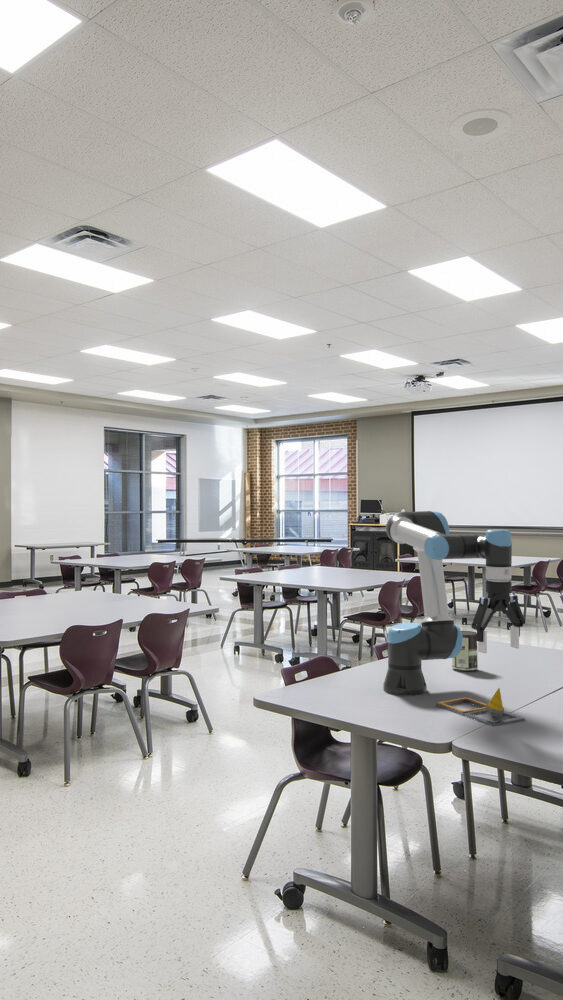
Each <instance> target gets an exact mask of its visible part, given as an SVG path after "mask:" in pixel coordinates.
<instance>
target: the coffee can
mask: <svg viewBox="0 0 563 1000" xmlns="http://www.w3.org/2000/svg"><path fill="white" fill-rule="evenodd" d="M460 631H461V632H462V636H463V644H462V648H461V651H460V653H459V654H458V655H457V656H456V657H454V658H451V668H452V669H454V670H459V671H476V670H478V669H479V667H478V665H479V664H478V662H479V661H478V660H479V659H478V641H477V631H473V630H472V631H471V630H460Z"/></svg>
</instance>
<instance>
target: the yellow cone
mask: <svg viewBox="0 0 563 1000" xmlns="http://www.w3.org/2000/svg"><path fill="white" fill-rule="evenodd" d="M502 700H503V699H502V693H501V688H500V687H498V688H497V690H496V691H495V693H494V695H493V696H492V697H491V699H490V700H489V702H488V703H485V704H486V709H487V712H488V713H489V715H491V717H492V718H493V719H498V718H502V714H503V713H504V711H505V708H504V707H503V701H502Z"/></svg>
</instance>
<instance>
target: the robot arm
mask: <svg viewBox="0 0 563 1000" xmlns="http://www.w3.org/2000/svg"><path fill="white" fill-rule="evenodd" d="M385 532H386V535H387V537H388V538H389V539H390V540H391V541H393V542H395V543H397V544H400V545H404V544H406V545H408V546H411V547H412V549H413V550H414V551H415V552H416V553H417V559H418V567H419V576H420V586H421V595H422V602H423V603H422V605H423V613H424V618H423V619H422V620H421V622H420V623H421V624H419V623H418V622H404V623H403V622H402V623H398V624H395V625H392V626H391V627H389V629H388V631H387V666H388V667H387V671H386V675H385V678H384V681H383V687H382V688H383V689H382V690H383V691H384V692H385V693H388V694H389V695H395V696H403V697H404V696H407V697H409V696H413V697H414V696H419V695H424V694H425V693H427V692H428V691H427V690H428V688H427V687H428V686H427V683H426V680H425V677H424V673H423V671H422V661H433V660H448V659H452V658H454V657H456V656H457V655H458V654H459V653H460V651H461V648H462V644H463V636H462V632H461V631H462V630H461V627H460V626H458V625H456V624H455V621H454V619H453V618H452V617H451V616H450V613H449V606H448V605H449V604H448V598H447V590H446V580H445V573H444V565H443V560H456V559H458V560H464V559H465V560H469V559H471V560H472V559H483V560H485V579H486V581H485V592H486V593H487V597H484V596H483V597H482V596H480V597H479V600H478V606H477V609H476V612H475V615H474V618H473V621H472V623H471V627H470V628H471V629H474V630H475V631H476V633H477V653H482V654H488V649H487V648H488V645H487V643H488V642H487V640H488V637H487V636H488V634H487V633H488V631H486V630H485V629H486V628H487V627H488V625H489V623H490V621H491V619H492V618H493V616H494V615H495V614H497V612H504V614H505V616H506V617H507V618H508V620H509V622H510V623H511V625H510V648H514V649H518V650H519V649H520V636H521V628H523V627H524V625H525V624H526V619H525V617H524V614H523V612H522V609H521V606H520V603H519V597H518V596H519V595H517V594H512V591H513V586H512V585H513V584H512V581H511V580H512V562H513V561H512V557H513V556H512V551H513V550H512V549H513V548H512V546H513V541H512V533H511V531H510V530H509V529H487V530H486V531H485V534H481V533H473V534H456V535H455V534H453V535H452V534H450V525H449V522H448V520H447V518H446V516H445V515H444V514H443V513H442V512H439V511H432V510H428V511H427V510H426V511H425V510H424V511H400V512H397V513H395V514H393V515H391V516H390V518H389V519H388V520H387V522H386V524H385ZM449 534H450V535H449Z"/></svg>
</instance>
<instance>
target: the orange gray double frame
mask: <svg viewBox="0 0 563 1000" xmlns="http://www.w3.org/2000/svg"><path fill="white" fill-rule="evenodd" d="M466 702H467V703H466ZM460 703H461V704H469V703H470V705H472V704H474V705H473V706H475V705H477V706H476V707H477V708H472V709H466V710H462V709H460V708H457V707H455V706H454V705H461V704H460ZM486 704H487V703H484V702H481V701H478V700H476V699H473V698H470V697H467V696H466V697H461V698H460V697H459V698H454V699H448V700H442V701H437V702H435V707H438V708H441V709H444V710H447V711H448V712H452V713H454V714H457V713H458V715H460V714H461V715H460V716H462V717H465V716H467V717H466V718H468V717H469V718H468V719H471V718H472V719H471V720H474V719H475V720H474V721H476V720H477V721H476V722H479V721H480V722H479V723H482V724H486V725H488V726H490V725H491V727H496V726H497V727H498V726H502V725H507V724H512V723H519V722H524V721H526V718H525V717H523V716H520V715H517V714H514V713H511V712H509V711H506V710H504V713H503V714H502V715H503V716H505V717H508V719H501V720H498V721H490V720H487V719H484V718H482V717H479V716H477V715H479V714H478V713H482V714H485V713H484V712H487V709H486ZM478 706H479V707H478ZM481 707H482V708H481ZM473 714H476V715H473ZM502 715H501V716H502Z"/></svg>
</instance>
